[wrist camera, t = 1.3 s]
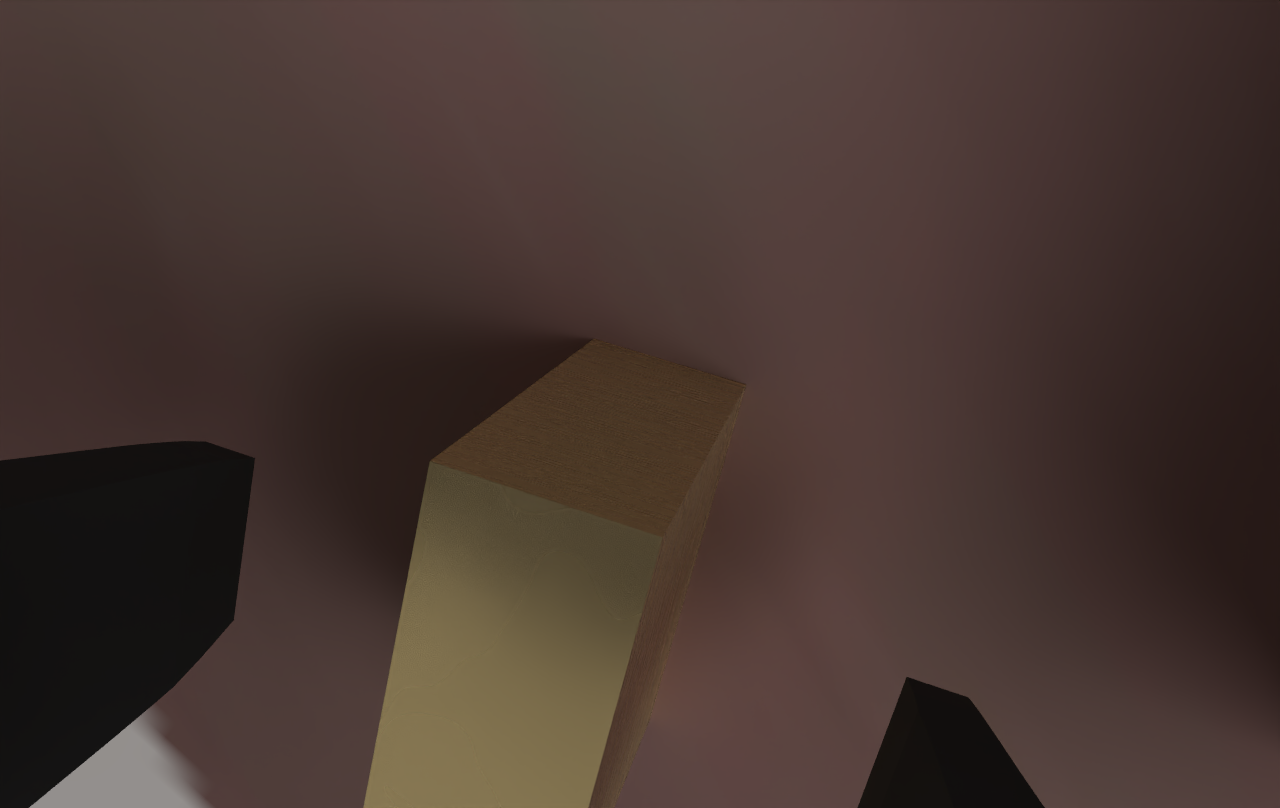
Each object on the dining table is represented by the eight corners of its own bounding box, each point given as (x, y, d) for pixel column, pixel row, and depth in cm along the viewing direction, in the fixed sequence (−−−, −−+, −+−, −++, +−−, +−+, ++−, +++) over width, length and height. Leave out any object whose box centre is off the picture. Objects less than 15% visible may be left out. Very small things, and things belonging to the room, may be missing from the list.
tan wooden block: (649, 719, 14) (533, 1008, 10) (516, 671, 15) (340, 930, 10) (746, 384, 13) (662, 537, 8) (594, 338, 13) (430, 461, 9)
